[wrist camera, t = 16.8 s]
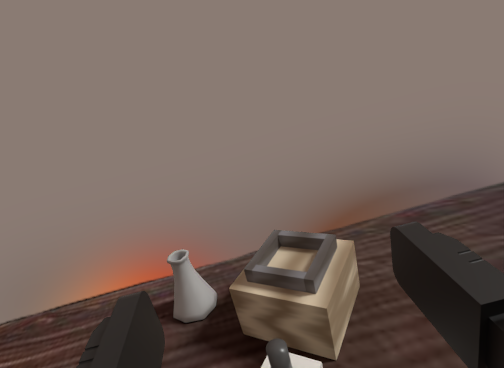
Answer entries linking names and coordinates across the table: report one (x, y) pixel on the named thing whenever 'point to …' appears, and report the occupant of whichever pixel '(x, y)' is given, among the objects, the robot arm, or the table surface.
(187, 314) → the flask
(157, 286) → the table surface
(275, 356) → the plug
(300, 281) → the upper dock
